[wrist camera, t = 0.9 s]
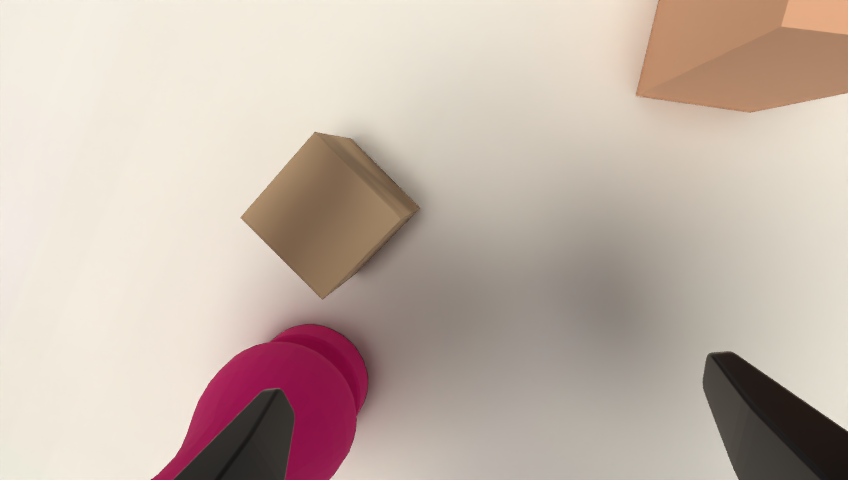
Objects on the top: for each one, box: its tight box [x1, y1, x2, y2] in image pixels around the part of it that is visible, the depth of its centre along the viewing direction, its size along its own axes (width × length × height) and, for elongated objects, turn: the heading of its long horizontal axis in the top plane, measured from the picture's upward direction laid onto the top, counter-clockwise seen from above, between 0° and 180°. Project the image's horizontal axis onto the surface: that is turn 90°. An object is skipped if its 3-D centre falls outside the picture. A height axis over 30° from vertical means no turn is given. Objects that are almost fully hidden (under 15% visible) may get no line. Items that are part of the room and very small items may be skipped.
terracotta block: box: [636, 0, 848, 112], centre depth 15 cm, size 5×5×11 cm
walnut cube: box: [241, 132, 420, 299], centre depth 22 cm, size 5×5×5 cm
